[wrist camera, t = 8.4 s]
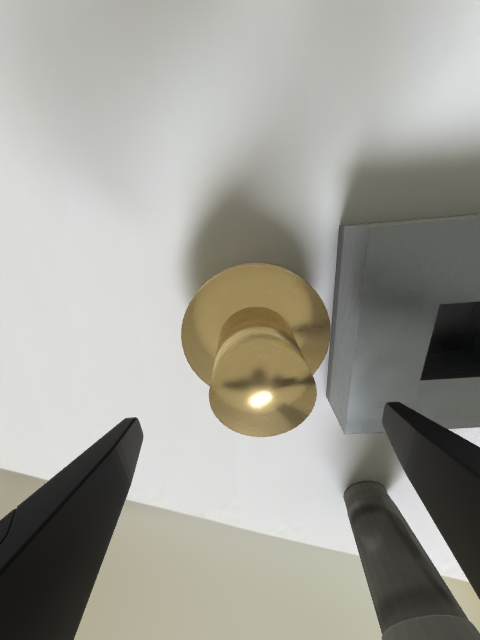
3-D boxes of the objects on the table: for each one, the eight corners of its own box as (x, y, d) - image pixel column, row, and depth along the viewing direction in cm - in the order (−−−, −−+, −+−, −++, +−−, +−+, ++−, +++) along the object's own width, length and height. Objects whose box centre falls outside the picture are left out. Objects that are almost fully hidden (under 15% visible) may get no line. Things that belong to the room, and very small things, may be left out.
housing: (563, 206, 15) (671, 201, 11) (490, 386, 20) (546, 423, 16) (339, 225, 15) (370, 226, 12) (326, 396, 21) (344, 434, 17)
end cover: (314, 251, 16) (393, 281, 8) (310, 363, 19) (361, 466, 11) (184, 261, 16) (125, 301, 8) (202, 370, 20) (174, 476, 12)
